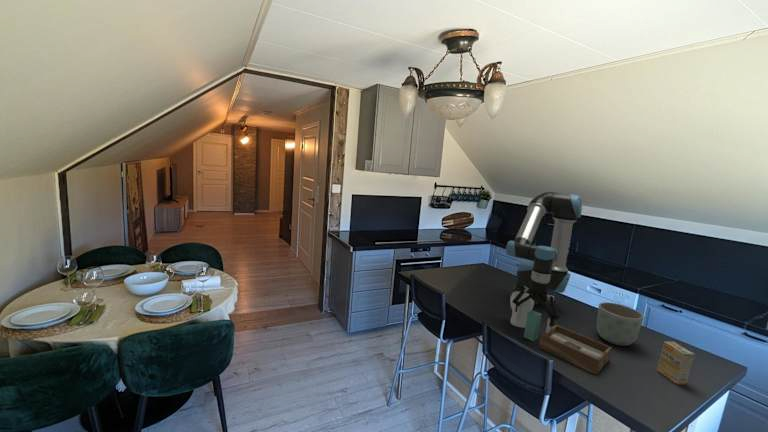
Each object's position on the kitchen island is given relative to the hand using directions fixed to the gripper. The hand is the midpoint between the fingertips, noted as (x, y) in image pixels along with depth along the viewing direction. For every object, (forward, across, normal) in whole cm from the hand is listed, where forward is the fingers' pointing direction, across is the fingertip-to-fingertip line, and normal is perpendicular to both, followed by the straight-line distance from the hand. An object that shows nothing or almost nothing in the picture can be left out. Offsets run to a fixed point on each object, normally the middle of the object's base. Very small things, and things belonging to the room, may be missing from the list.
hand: (532, 325), depth 148 cm
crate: (+6, +17, +3) cm, 18 cm away
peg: (+6, 0, 0) cm, 6 cm away
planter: (+6, +24, +34) cm, 42 cm away
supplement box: (+6, +47, +19) cm, 51 cm away
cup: (+6, -10, +9) cm, 14 cm away
